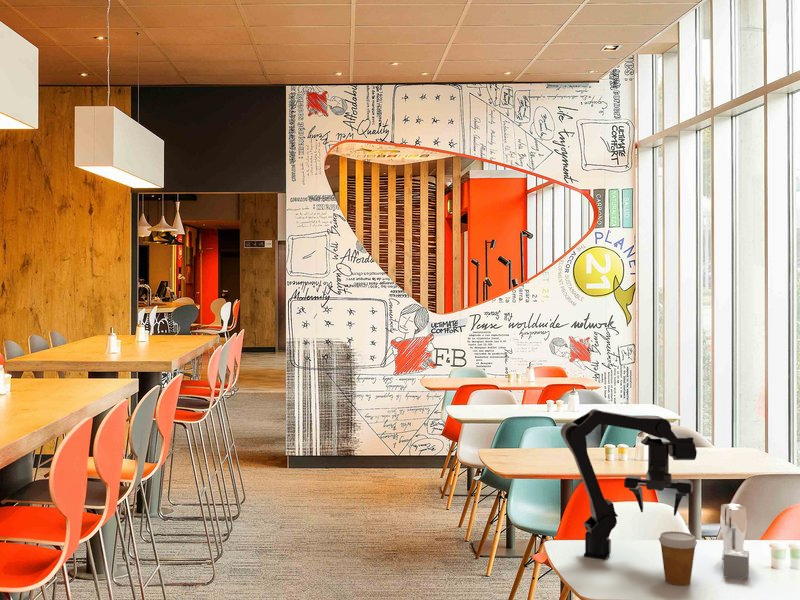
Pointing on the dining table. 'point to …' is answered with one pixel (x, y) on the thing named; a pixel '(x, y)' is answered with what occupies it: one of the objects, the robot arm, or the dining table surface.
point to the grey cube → (736, 563)
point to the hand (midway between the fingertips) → (658, 513)
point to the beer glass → (733, 526)
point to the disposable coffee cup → (677, 556)
